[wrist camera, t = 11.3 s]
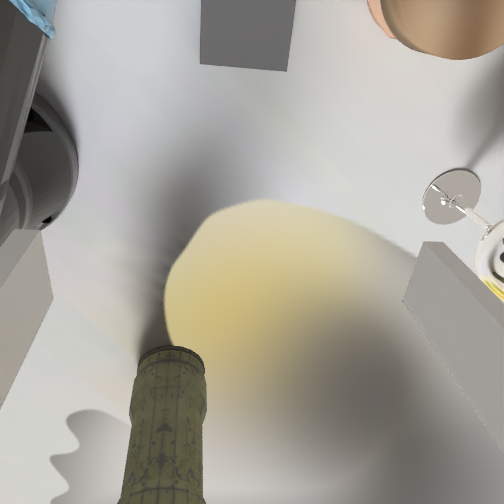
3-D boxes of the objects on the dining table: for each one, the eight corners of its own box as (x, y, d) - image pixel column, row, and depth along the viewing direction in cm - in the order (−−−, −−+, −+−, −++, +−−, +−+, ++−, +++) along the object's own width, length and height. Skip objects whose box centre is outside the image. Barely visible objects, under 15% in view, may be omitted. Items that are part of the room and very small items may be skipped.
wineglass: (441, 151, 42) (579, 239, 27) (503, 174, 44) (663, 267, 29) (400, 220, 46) (501, 331, 31) (459, 237, 48) (581, 350, 33)
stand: (199, 59, 35) (199, 63, 33) (202, -42, 31) (202, -45, 29) (280, 66, 36) (286, 71, 34) (292, -30, 32) (300, -33, 30)
